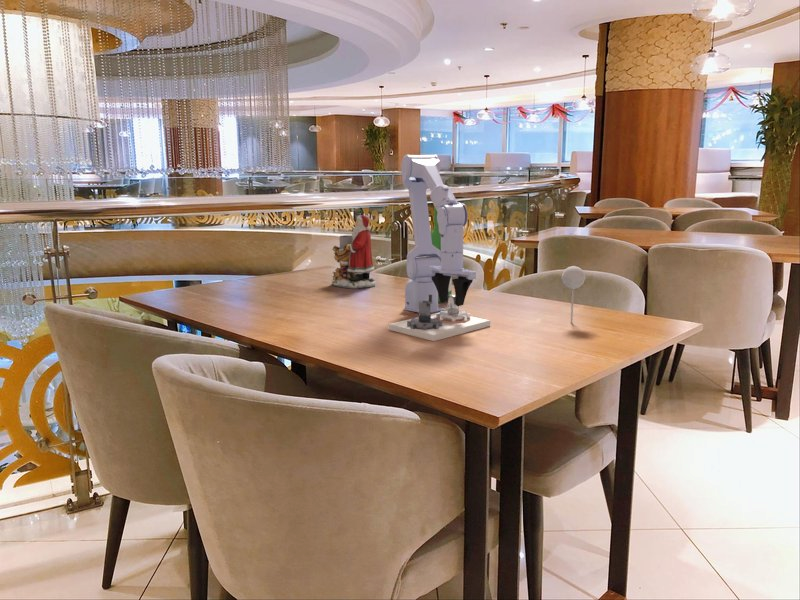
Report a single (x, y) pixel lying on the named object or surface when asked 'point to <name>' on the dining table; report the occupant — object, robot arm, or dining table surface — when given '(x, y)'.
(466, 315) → the aluminium gear
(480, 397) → the dining table surface
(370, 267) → the santa figurine
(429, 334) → the gear board
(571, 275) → the lollipop
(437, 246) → the wine bottle
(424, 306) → the crank gear
